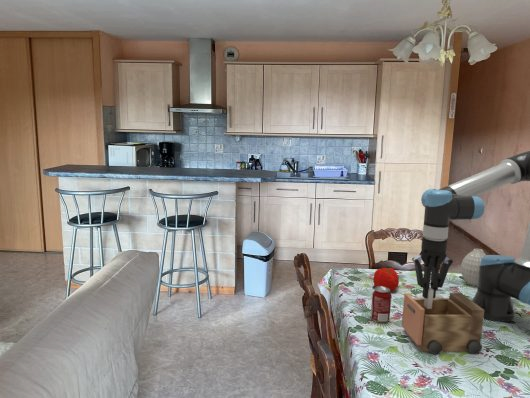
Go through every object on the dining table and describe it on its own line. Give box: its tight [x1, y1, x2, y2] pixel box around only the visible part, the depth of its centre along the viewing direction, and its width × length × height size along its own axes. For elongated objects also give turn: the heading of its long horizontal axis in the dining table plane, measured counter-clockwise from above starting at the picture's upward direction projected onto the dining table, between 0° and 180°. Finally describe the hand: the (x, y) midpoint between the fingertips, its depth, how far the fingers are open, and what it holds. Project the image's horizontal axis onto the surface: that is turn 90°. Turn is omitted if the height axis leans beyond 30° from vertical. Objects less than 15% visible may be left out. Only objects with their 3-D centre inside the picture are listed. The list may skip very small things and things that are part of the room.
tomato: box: [372, 267, 400, 292], centre depth 184 cm, size 11×12×9 cm
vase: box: [460, 248, 487, 287], centre depth 193 cm, size 13×13×17 cm
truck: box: [404, 292, 485, 355], centre depth 139 cm, size 19×17×14 cm
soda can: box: [370, 286, 392, 324], centre depth 153 cm, size 7×7×12 cm
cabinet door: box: [401, 293, 425, 346], centre depth 138 cm, size 2×13×12 cm, turn 4°
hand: (427, 307), depth 138 cm, fingers closed
